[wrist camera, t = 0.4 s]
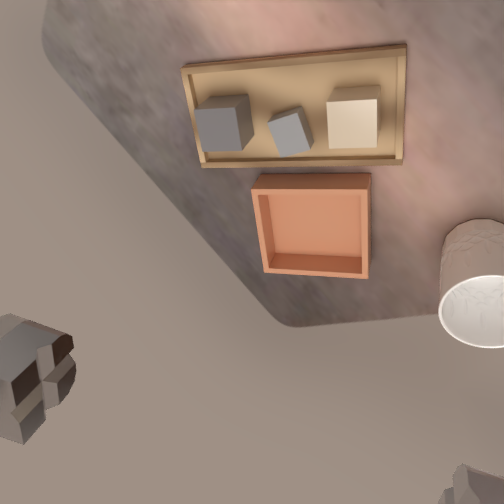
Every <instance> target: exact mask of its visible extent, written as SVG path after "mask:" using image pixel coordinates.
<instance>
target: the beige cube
mask: <svg viewBox="0 0 504 504" xmlns="http://www.w3.org/2000/svg"><path fill="white" fill-rule="evenodd" d="M326 104H327V122H328V140H329V149H334V148H373V147H377V144H378V139H379V135H380V117H381V85H377V86H362V87H347V88H334V89H333V91H332V93H331V95H330V96H329V98H328V100H327V102H326Z"/></svg>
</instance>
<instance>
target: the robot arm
mask: <svg viewBox="0 0 504 504" xmlns="http://www.w3.org/2000/svg"><path fill="white" fill-rule="evenodd" d="M73 348H74V344H73V339H72V336H71V335H69V334H66V333H64V332H61V331H58V330H55V329H53V328H50V327H47V326H44V325H42V324H38V323H36V322H33V321H31V320H27V319H24V318H21V317H19V316H16V315H13V314H6V315H3V316H1V317H0V437H3V438H6V439H8V440H11V441H14V442H17V443H20V444H23V445H24V444H25V443H26V442H27V441H28V439H29V438H30V437H31V436H32V435H33V434H34V433H35V432H36V430H37V429H38V428H39V427H40V426H41V425H42V424H43V423H44V421H45V420H46V410H47V409H49V408H52V407H54V406H56V405H59V404H60V403H61V402H62V401H63V399H64V398H65V397H66V396H67V395H68V393H69V391H70V389H71V387H72V385H73V383H74V381H75V375H76V364H75V361H74V360H73V359H72V357H71V356H70V354H69V353H70V352H71V350H72V349H73ZM438 504H504V477H503V476H499V475H496V474H493V473H490V472H487V471H484V470H480V469H477V468H474V467H471V466H468V465H465V464H462V465H460V466H458V467H457V469H456V471H455V472H454V474H453V487H451V488H449V489H445V490H444V492H443V494H442V496H441V498H440V500H439V502H438Z"/></svg>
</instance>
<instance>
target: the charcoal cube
mask: <svg viewBox="0 0 504 504" xmlns="http://www.w3.org/2000/svg"><path fill="white" fill-rule="evenodd" d="M194 115H195V120H196V124H197V129H198V134H199V138H200V143H201V148H202V152H216V151H242V150H243V149H244V148H245V146H246V145H247V144H248V143H249V141H250V140H251V139H252V138H253V136H254V128H253V121H252V115H251V108H250V101H249V94H242V95H227V96H212V97H209V98H207V99H206V100H205V101H204V102H202V103H201V104H200V105H199V106H197V107H196V108H195V109H194Z"/></svg>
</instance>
